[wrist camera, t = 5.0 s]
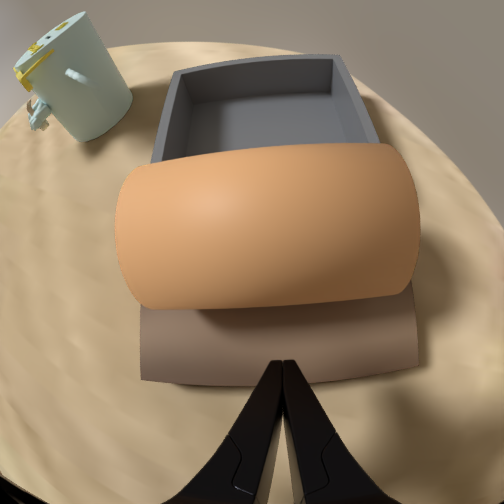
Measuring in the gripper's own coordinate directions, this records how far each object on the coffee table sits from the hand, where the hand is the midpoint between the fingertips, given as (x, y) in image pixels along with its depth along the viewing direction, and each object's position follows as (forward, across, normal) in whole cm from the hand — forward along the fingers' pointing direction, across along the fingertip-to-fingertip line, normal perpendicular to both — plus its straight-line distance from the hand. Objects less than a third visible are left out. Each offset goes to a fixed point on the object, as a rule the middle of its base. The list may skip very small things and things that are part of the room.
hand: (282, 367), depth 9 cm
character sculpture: (+23, +21, -12) cm, 33 cm away
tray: (+17, +1, -7) cm, 18 cm away
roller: (+5, 0, -3) cm, 6 cm away
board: (+8, 0, +2) cm, 9 cm away
